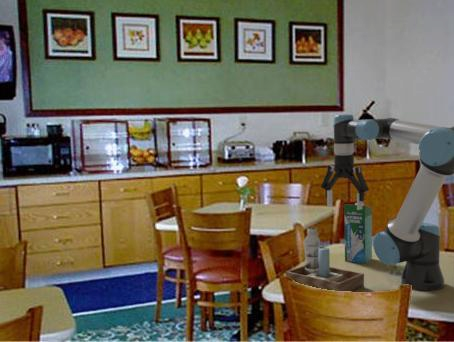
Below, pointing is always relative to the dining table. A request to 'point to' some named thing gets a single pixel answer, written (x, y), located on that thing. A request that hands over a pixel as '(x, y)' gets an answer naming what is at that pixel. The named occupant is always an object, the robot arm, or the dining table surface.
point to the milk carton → (358, 233)
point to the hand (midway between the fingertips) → (344, 207)
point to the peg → (324, 263)
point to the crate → (329, 279)
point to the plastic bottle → (311, 251)
